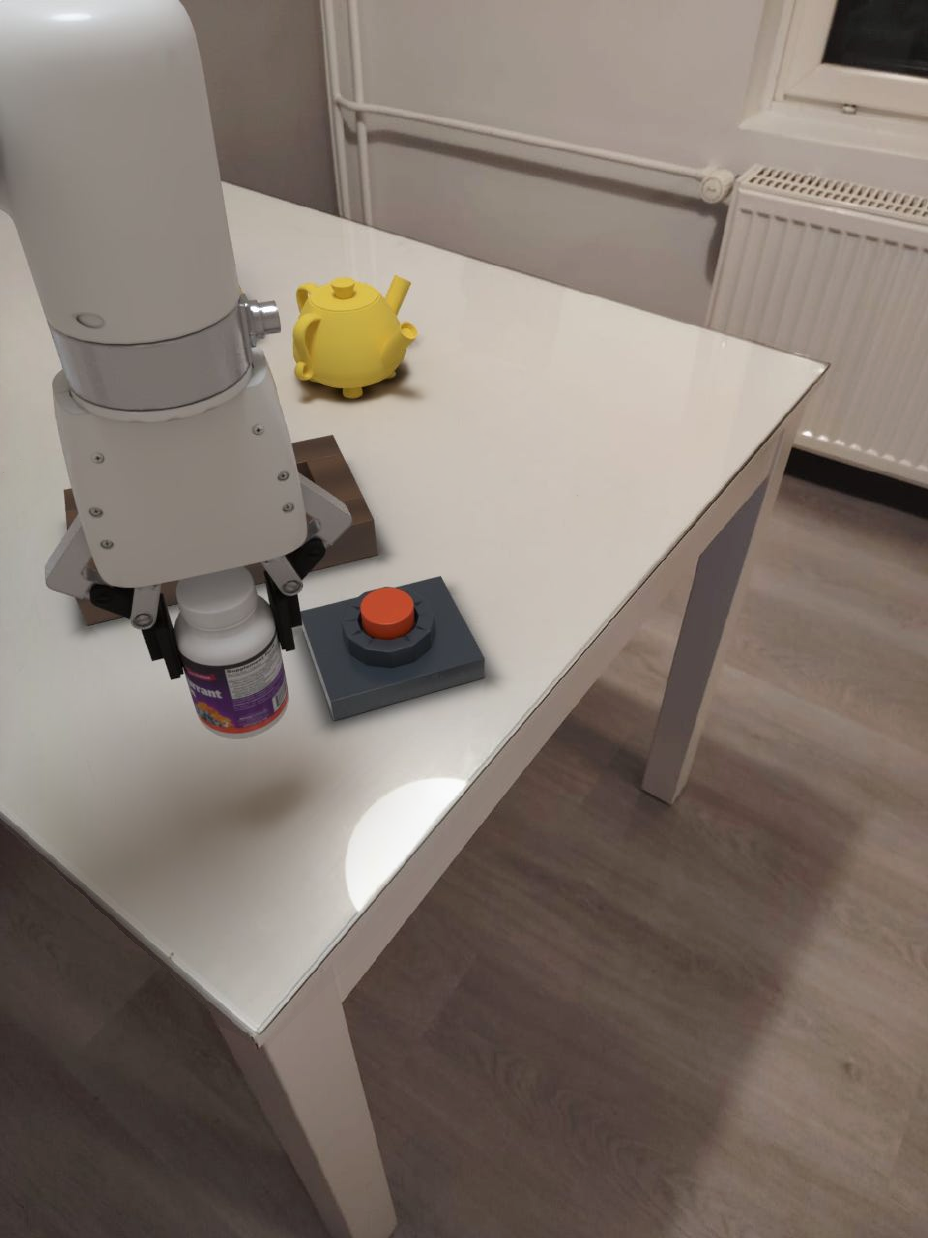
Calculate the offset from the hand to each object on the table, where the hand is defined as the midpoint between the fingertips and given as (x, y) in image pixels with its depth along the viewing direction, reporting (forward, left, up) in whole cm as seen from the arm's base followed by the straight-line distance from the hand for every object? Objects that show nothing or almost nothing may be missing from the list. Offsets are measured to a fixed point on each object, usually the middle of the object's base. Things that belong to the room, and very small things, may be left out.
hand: (229, 645), depth 49 cm
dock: (+2, +29, -15) cm, 33 cm away
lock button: (+12, +10, -12) cm, 19 cm away
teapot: (+22, +53, -15) cm, 59 cm away
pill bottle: (0, 0, -5) cm, 5 cm away
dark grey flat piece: (+12, +10, -15) cm, 22 cm away
